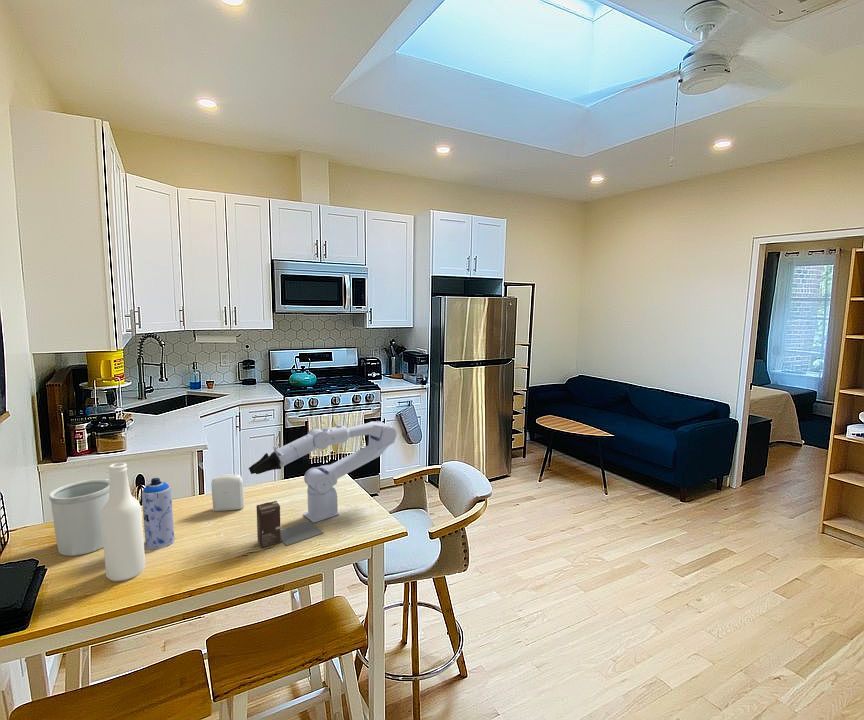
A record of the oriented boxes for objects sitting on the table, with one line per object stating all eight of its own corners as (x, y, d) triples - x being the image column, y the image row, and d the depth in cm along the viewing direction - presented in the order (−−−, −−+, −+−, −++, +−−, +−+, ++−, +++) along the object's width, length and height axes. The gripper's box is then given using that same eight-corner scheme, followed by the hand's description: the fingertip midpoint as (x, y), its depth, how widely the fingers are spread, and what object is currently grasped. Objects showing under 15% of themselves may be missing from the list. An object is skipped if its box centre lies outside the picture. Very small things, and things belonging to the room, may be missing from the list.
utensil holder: (43, 551, 135) (36, 493, 133) (96, 528, 149) (91, 475, 146) (76, 562, 130) (70, 502, 127) (128, 537, 143) (123, 482, 141)
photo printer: (211, 512, 160) (209, 477, 159) (214, 506, 164) (213, 473, 163) (242, 510, 162) (240, 476, 160) (245, 505, 166) (243, 471, 164)
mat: (309, 521, 154) (309, 520, 154) (323, 533, 146) (323, 532, 146) (273, 533, 146) (273, 532, 146) (286, 546, 138) (286, 545, 138)
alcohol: (106, 570, 126) (96, 463, 122) (144, 560, 131) (136, 457, 127) (106, 586, 118) (96, 473, 115) (147, 575, 123) (138, 466, 120)
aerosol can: (141, 542, 140) (136, 478, 137) (170, 533, 146) (165, 472, 143) (149, 552, 135) (144, 486, 132) (178, 542, 140) (174, 478, 138)
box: (261, 549, 137) (259, 510, 135) (257, 542, 140) (255, 504, 139) (281, 543, 140) (280, 505, 138) (277, 537, 144) (276, 499, 142)
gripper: (282, 440, 156) (243, 459, 149) (294, 438, 144) (251, 458, 136) (291, 460, 156) (251, 479, 149) (303, 459, 144) (261, 480, 137)
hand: (252, 471), depth 143 cm, fingers open, 7 cm apart
